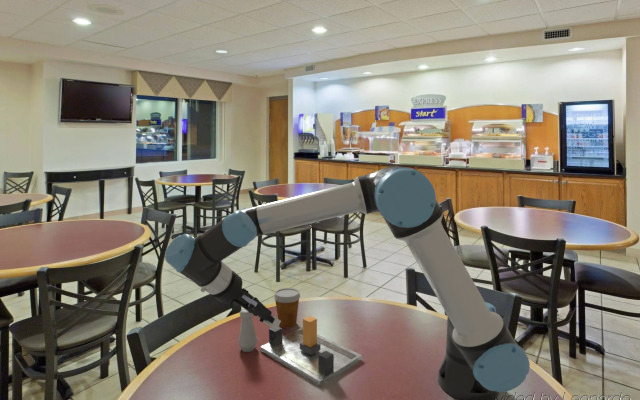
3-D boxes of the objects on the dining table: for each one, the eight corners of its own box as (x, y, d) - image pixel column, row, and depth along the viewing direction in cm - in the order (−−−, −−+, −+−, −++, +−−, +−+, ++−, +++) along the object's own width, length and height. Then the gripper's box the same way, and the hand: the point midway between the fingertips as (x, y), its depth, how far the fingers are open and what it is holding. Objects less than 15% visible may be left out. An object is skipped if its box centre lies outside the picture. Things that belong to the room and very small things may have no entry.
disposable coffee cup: (302, 318, 142) (302, 288, 141) (298, 330, 133) (298, 298, 131) (277, 317, 143) (276, 287, 142) (271, 329, 134) (270, 297, 132)
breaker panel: (361, 359, 114) (362, 339, 114) (319, 386, 102) (319, 363, 101) (302, 331, 132) (302, 313, 132) (260, 350, 120) (260, 331, 119)
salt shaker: (249, 342, 125) (248, 304, 123) (261, 348, 122) (260, 309, 120) (234, 349, 121) (233, 310, 119) (246, 355, 117) (245, 315, 115)
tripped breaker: (320, 350, 117) (320, 319, 115) (311, 355, 114) (310, 323, 112) (309, 344, 120) (308, 314, 119) (299, 349, 117) (299, 318, 116)
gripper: (197, 288, 95) (253, 328, 109) (227, 303, 86) (285, 345, 100) (215, 263, 98) (268, 305, 112) (246, 275, 89) (299, 320, 103)
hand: (276, 324), depth 106 cm, fingers closed
